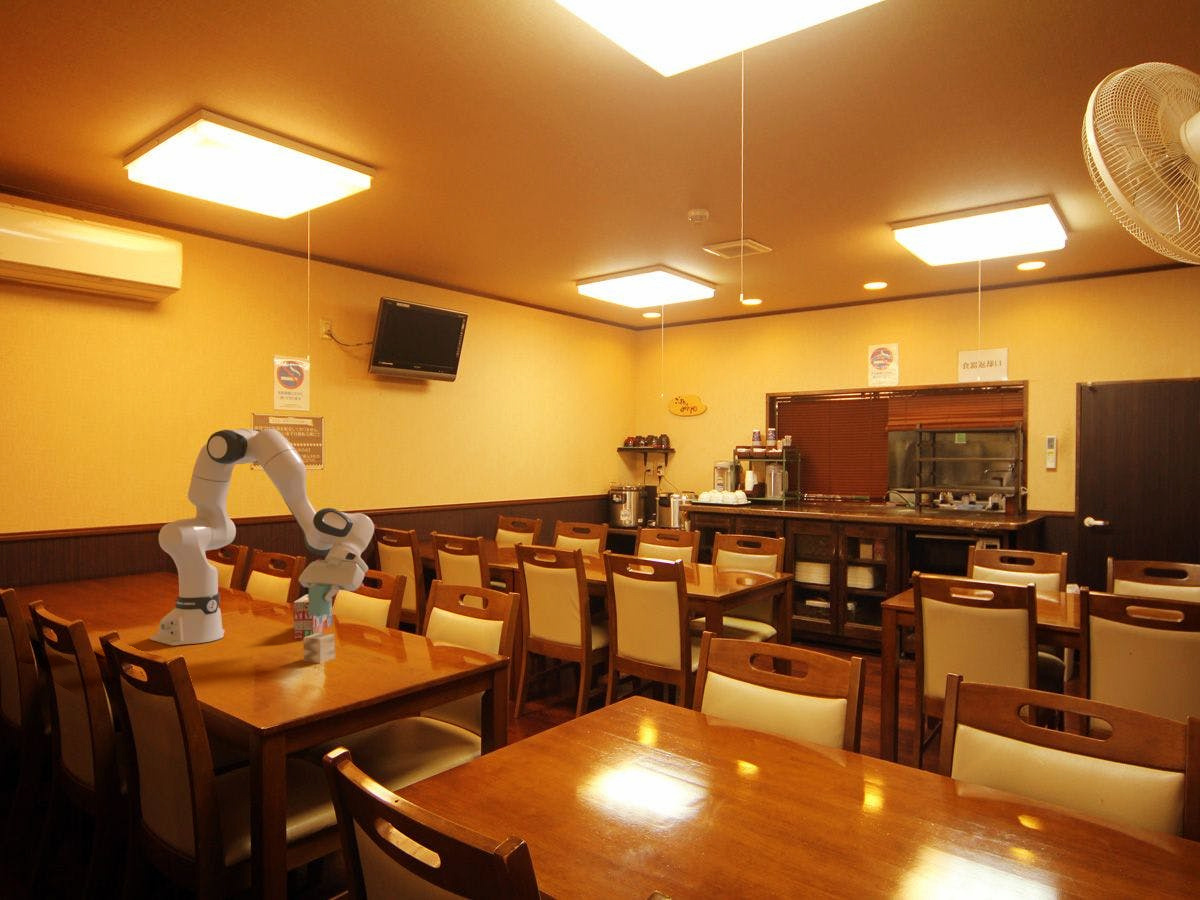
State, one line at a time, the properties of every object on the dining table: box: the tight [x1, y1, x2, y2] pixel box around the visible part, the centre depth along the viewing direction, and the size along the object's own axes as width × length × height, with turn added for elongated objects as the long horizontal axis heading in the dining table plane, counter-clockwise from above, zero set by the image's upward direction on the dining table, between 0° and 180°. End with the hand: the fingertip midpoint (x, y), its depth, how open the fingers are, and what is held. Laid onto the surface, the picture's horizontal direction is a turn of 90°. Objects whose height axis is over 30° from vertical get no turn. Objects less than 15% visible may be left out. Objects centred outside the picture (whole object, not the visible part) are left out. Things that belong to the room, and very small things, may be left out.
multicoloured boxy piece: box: [293, 593, 333, 640], centre depth 252 cm, size 21×6×12 cm, turn 4°
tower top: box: [302, 632, 336, 652], centre depth 218 cm, size 6×6×4 cm
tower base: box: [303, 646, 336, 664], centre depth 218 cm, size 6×6×4 cm
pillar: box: [308, 585, 331, 616], centre depth 218 cm, size 4×4×8 cm
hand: (317, 599), depth 217 cm, fingers closed on pillar, 4 cm apart
